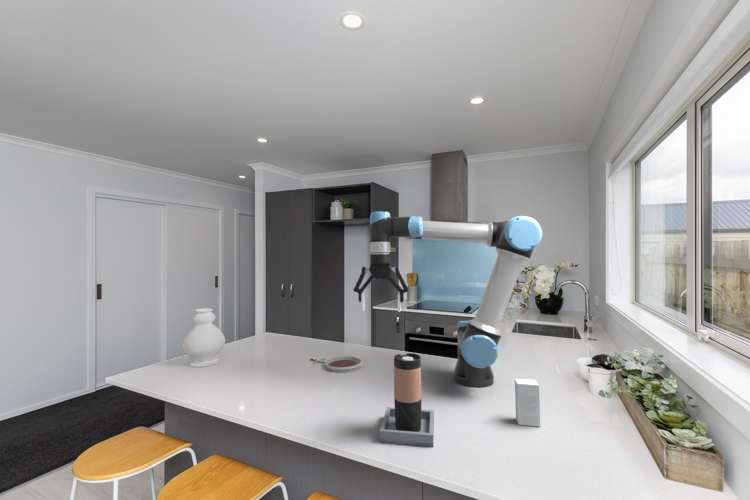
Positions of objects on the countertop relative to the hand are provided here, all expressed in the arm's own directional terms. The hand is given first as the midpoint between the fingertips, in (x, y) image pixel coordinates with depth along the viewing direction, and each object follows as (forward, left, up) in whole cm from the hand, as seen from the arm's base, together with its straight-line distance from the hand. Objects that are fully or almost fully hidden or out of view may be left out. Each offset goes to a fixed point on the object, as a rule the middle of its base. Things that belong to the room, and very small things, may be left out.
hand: (381, 311), depth 126 cm
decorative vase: (+87, -18, -29) cm, 93 cm away
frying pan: (+26, -24, -29) cm, 46 cm away
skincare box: (-46, +18, -29) cm, 57 cm away
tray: (-12, +28, -29) cm, 42 cm away
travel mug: (-12, +28, -28) cm, 41 cm away
